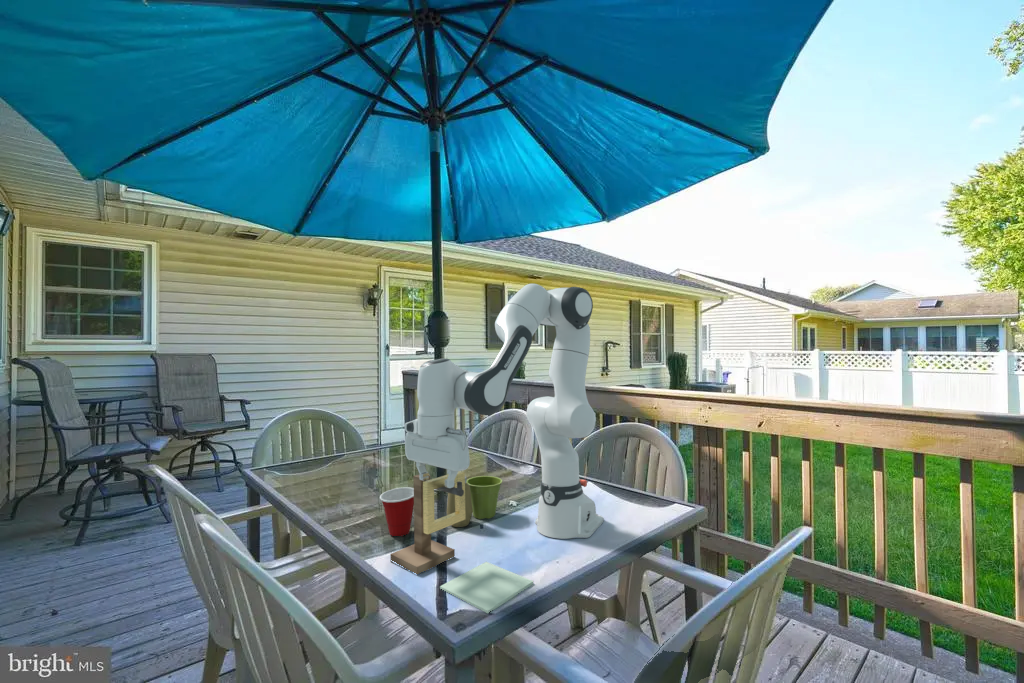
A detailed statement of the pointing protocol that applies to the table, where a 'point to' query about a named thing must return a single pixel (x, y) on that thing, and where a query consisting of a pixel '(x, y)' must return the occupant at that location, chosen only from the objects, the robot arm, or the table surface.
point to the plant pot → (484, 495)
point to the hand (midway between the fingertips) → (436, 483)
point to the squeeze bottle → (467, 506)
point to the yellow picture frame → (428, 504)
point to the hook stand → (424, 537)
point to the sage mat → (487, 586)
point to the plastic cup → (398, 509)
